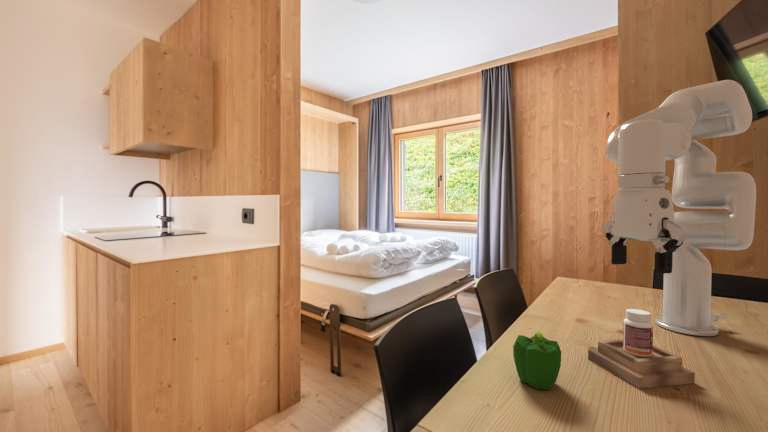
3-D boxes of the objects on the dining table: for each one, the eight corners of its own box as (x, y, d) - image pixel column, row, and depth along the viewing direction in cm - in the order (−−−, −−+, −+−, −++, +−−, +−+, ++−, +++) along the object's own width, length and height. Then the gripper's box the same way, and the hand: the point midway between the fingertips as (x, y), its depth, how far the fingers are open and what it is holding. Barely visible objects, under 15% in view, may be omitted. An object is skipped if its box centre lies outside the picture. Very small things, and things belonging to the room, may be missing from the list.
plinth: (636, 354, 74) (636, 335, 73) (694, 383, 62) (694, 360, 62) (588, 358, 72) (588, 339, 72) (638, 388, 60) (639, 365, 60)
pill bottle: (658, 359, 64) (659, 316, 64) (630, 356, 65) (631, 314, 65) (644, 348, 69) (645, 308, 68) (618, 346, 70) (619, 307, 69)
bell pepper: (516, 367, 68) (516, 319, 68) (561, 378, 64) (562, 326, 63) (508, 386, 61) (509, 333, 60) (559, 400, 56) (560, 342, 56)
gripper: (704, 180, 59) (702, 276, 59) (619, 186, 76) (619, 260, 76) (668, 180, 57) (666, 278, 58) (590, 186, 74) (590, 261, 75)
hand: (639, 268), depth 67 cm, fingers open, 9 cm apart
